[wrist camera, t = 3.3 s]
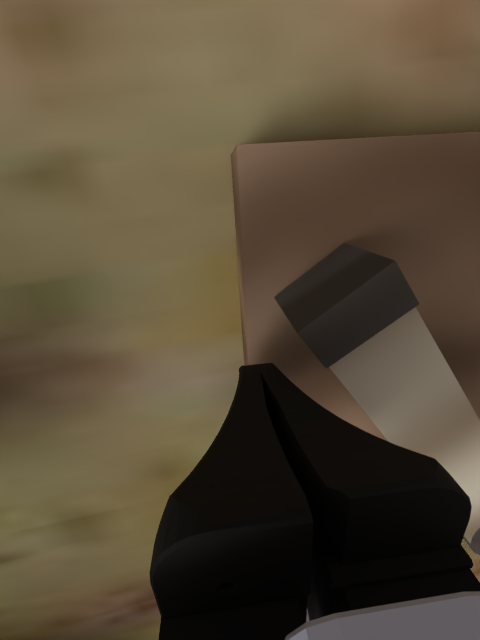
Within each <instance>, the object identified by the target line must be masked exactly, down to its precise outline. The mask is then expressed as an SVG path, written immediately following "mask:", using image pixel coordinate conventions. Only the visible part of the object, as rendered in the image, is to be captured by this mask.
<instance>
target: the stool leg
mask: <svg viewBox="0 0 480 640" xmlns="http://www.w3.org/2000/svg"><path fill="white" fill-rule="evenodd" d="M274 298H275V300H276V301H277V303H278V304H279V306H280V308H281V309H282V311H283V312H284V314H285V315H286V317H287V318H288V320H289V321H290V323H291V325H292V326H293V328H294V329H295V331H296V332H297V334H298V335H299V336H300V337H301V339H302V340H303V341H304V342H305V344H306V345H307V346H308V347H309V348H310V350H311V351H312V352H313V353H314V355H315V356H316V357H317V358H318V360H319V361H320V362H321V363H322V365H323V366H324V367H325V368H326V369H327V368H328V367H329V368H330V369H331V370H332V372H333V373H334V374H335V375H336V377H337V378H338V379H339V380H340V382H341V383H342V384H343V385H344V387H345V388H346V389H347V390H348V392H349V393H350V394H351V395H352V397H353V398H354V399H355V400H356V402H357V403H358V404H359V405H360V407H361V408H362V409H363V410H364V412H365V413H366V414H367V415H368V417H369V418H370V419H371V420H372V422H373V423H374V424H375V425H376V427H377V428H378V429H379V430H380V432H381V433H382V434H383V435H384V437H385V438H386V439H387V440H388V442H390V443H393V444H395V445H398V446H400V447H403V448H406V449H409V450H412V451H415V452H417V453H420V454H423V455H426V456H429V457H432V458H435V459H436V460H437V461H438V462H439V463H440V464H441V465H442V466H443V467H444V468H445V469H446V470H447V472H448V473H449V474H450V475H451V476H452V477H453V478H454V480H455V481H456V482H457V483H458V484H459V486H460V487H461V488H462V489H463V490H464V492H465V493H466V494H467V495H468V496H469V498H470V502H471V506H472V509H471V515H470V520H469V523H468V526H467V528H466V531H465V534H464V536H463V538H464V540H465V541H466V542H467V544H468V545H469V546H470V548H471V549H472V550H473V551H474V552H475V553H477V554H479V555H480V420H479V418H478V416H477V415H476V413H475V411H474V409H473V408H472V406H471V404H470V402H469V400H468V399H467V397H466V395H465V393H464V392H463V390H462V388H461V386H460V385H459V383H458V381H457V379H456V378H455V376H454V374H453V372H452V371H451V369H450V367H449V365H448V364H447V362H446V360H445V358H444V356H443V355H442V353H441V351H440V349H439V348H438V346H437V344H436V342H435V341H434V339H433V337H432V335H431V334H430V332H429V330H428V328H427V327H426V325H425V323H424V321H423V320H422V318H421V316H420V314H419V312H418V311H417V309H416V306H418V305H419V302H418V300H417V298H416V297H415V295H414V293H413V291H412V290H411V288H410V286H409V284H408V282H407V281H406V279H405V277H404V275H403V273H402V272H401V270H400V268H399V266H398V264H397V263H396V261H395V260H392V259H389V258H386V257H383V256H380V255H377V254H375V253H372V252H369V251H366V250H363V249H360V248H357V247H354V246H351V245H348V244H345V243H343V244H342V245H341V246H340V247H338V248H337V249H336V250H334V251H333V252H332V253H331V254H329V255H328V256H327V257H325V258H324V259H323V260H322V261H320V262H319V263H318V264H316V265H315V266H314V267H312V268H311V269H310V270H309V271H307V272H306V273H305V274H303V275H302V276H301V277H300V278H298V279H297V280H296V281H294V282H293V283H292V284H290V285H289V286H288V287H287V288H285V289H284V290H283V291H281V292H280V293H279V294H278V295H276V296H275V297H274Z"/></svg>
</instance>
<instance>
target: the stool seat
mask: <svg viewBox="0 0 480 640" xmlns="http://www.w3.org/2000/svg"><path fill="white" fill-rule="evenodd" d="M231 163H232V178H233V194H234V210H235V225H236V241H237V256H238V272H239V288H240V303H241V319H242V334H243V350H244V365H255V364H264V363H273V364H274V365H275V366H276V367H277V368H278V369H279V370H280V371H281V372H282V373H283V374H284V375H285V376H286V377H287V378H288V379H289V380H290V381H291V382H293V383H294V384H295V385H296V386H297V387H298V388H299V389H300V390H302V391H303V392H304V393H305V394H306V395H308V396H309V397H310V398H311V399H313V400H314V401H315V402H317V403H318V404H319V405H321V406H322V407H324V408H325V409H327V410H328V411H330V412H332V413H333V414H335V415H336V416H338V417H340V418H341V419H343V420H345V421H347V422H348V423H350V424H352V425H354V426H356V427H358V428H360V429H362V430H364V431H366V432H368V433H370V434H372V435H374V436H376V437H379V438H381V439H383V440H386V441H388V440H387V439H386V438H385V437H384V435H383V434H382V433H381V432H380V430H379V429H378V428H377V427H376V425H375V424H374V423H373V422H372V420H371V419H370V418H369V417H368V415H367V414H366V413H365V412H364V410H363V409H362V408H361V407H360V405H359V404H358V403H357V402H356V400H355V399H354V398H353V397H352V395H351V394H350V393H349V392H348V390H347V389H346V388H345V387H344V385H343V384H342V383H341V382H340V380H339V379H338V378H337V377H336V375H335V374H334V373H333V372H332V370H331V369H330V368H329V367H328V368H327V369H326V368H325V367H324V366H323V365H322V363H321V362H320V361H319V360H318V358H317V357H316V356H315V355H314V353H313V352H312V351H311V350H310V348H309V347H308V346H307V345H306V344H305V342H304V341H303V340H302V339H301V337H300V336H299V335H298V334H297V332H296V331H295V329H294V328H293V326H292V325H291V323H290V321H289V320H288V318H287V317H286V315H285V314H284V312H283V311H282V309H281V308H280V306H279V304H278V303H277V301H276V300H275V298H274V297H275V296H276V295H278V294H279V293H280V292H281V291H283V290H284V289H285V288H287V287H288V286H289V285H290V284H292V283H293V282H294V281H296V280H297V279H298V278H300V277H301V276H302V275H303V274H305V273H306V272H307V271H309V270H310V269H311V268H312V267H314V266H315V265H316V264H318V263H319V262H320V261H322V260H323V259H324V258H325V257H327V256H328V255H329V254H331V253H332V252H333V251H334V250H336V249H337V248H338V247H340V246H341V245H342V244H343V243H345V244H348V245H351V246H354V247H357V248H360V249H363V250H366V251H369V252H372V253H375V254H377V255H380V256H383V257H386V258H389V259H392V260H395V261H396V263H397V264H398V266H399V268H400V270H401V272H402V273H403V275H404V277H405V279H406V281H407V282H408V284H409V286H410V288H411V290H412V291H413V293H414V295H415V297H416V298H417V300H418V302H419V305H418V306H416V309H417V311H418V312H419V314H420V316H421V318H422V320H423V321H424V323H425V325H426V327H427V328H428V330H429V332H430V334H431V335H432V337H433V339H434V341H435V342H436V344H437V346H438V348H439V349H440V351H441V353H442V355H443V356H444V358H445V360H446V362H447V364H448V365H449V367H450V369H451V371H452V372H453V374H454V376H455V378H456V379H457V381H458V383H459V385H460V386H461V388H462V390H463V392H464V393H465V395H466V397H467V399H468V400H469V402H470V404H471V406H472V408H473V409H474V411H475V413H476V415H477V416H478V418H479V420H480V131H477V132H459V133H441V134H422V135H404V136H386V137H368V138H350V139H332V140H313V141H295V142H277V143H259V144H241V145H236V147H235V149H234V150H233V152H232V154H231Z"/></svg>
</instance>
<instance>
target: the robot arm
mask: <svg viewBox="0 0 480 640" xmlns="http://www.w3.org/2000/svg"><path fill="white" fill-rule="evenodd" d="M471 509H472V506H471V502H470V498H469V496H468V495H467V494H466V493H465V492H464V490H463V489H462V488H461V487H460V486H459V484H458V483H457V482H456V481H455V480H454V478H453V477H452V476H451V475H450V474H449V473H448V472H447V470H446V469H445V468H444V467H443V466H442V465H441V464H440V463H439V462H438V461H437V460H436V459H435V458H432V457H429V456H426V455H423V454H420V453H417V452H415V451H412V450H409V449H406V448H403V447H400V446H398V445H395V444H393V443H390V442H388V441H386V440H383V439H381V438H379V437H376V436H374V435H372V434H370V433H368V432H366V431H364V430H362V429H360V428H358V427H356V426H354V425H352V424H350V423H348V422H347V421H345V420H343V419H341V418H340V417H338V416H336V415H335V414H333V413H332V412H330V411H328V410H327V409H325V408H324V407H322V406H321V405H319V404H318V403H317V402H315V401H314V400H313V399H311V398H310V397H309V396H308V395H306V394H305V393H304V392H303V391H302V390H300V389H299V388H298V387H297V386H296V385H295V384H294V383H293V382H291V381H290V380H289V379H288V378H287V377H286V376H285V375H284V374H283V373H282V372H281V371H280V370H279V369H278V368H277V367H276V366H275V365H274V364H273V363H264V364H255V365H245V366H241V367H240V368H239V381H238V386H237V389H236V393H235V397H234V400H233V402H232V405H231V407H230V410H229V413H228V415H227V417H226V419H225V421H224V423H223V425H222V427H221V429H220V431H219V433H218V434H217V436H216V438H215V440H214V441H213V443H212V445H211V446H210V448H209V449H208V451H207V452H206V453H205V455H204V456H203V457H202V459H201V460H200V461H199V463H198V464H197V466H196V467H195V468H194V470H193V471H192V472H191V473H190V474H189V476H188V477H187V478H186V479H185V480H184V481H183V482H182V483H181V484H180V486H179V487H178V488H177V489H176V490H175V491H174V492H173V493H172V494H171V495H170V497H169V499H168V502H167V504H166V507H165V510H164V512H163V515H162V518H161V521H160V524H159V528H158V532H157V535H156V539H155V543H154V549H153V555H152V562H151V568H150V582H151V586H152V589H153V592H154V595H155V599H156V602H157V605H158V608H159V611H160V614H161V624H160V633H159V640H480V582H479V581H478V580H477V578H476V577H475V575H474V574H473V573H472V571H471V570H470V568H472V566H473V562H472V559H471V558H470V557H469V555H468V554H467V553H466V551H465V550H464V548H463V547H462V546H461V542H462V539H463V536H464V534H465V531H466V528H467V526H468V523H469V520H470V515H471Z"/></svg>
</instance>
